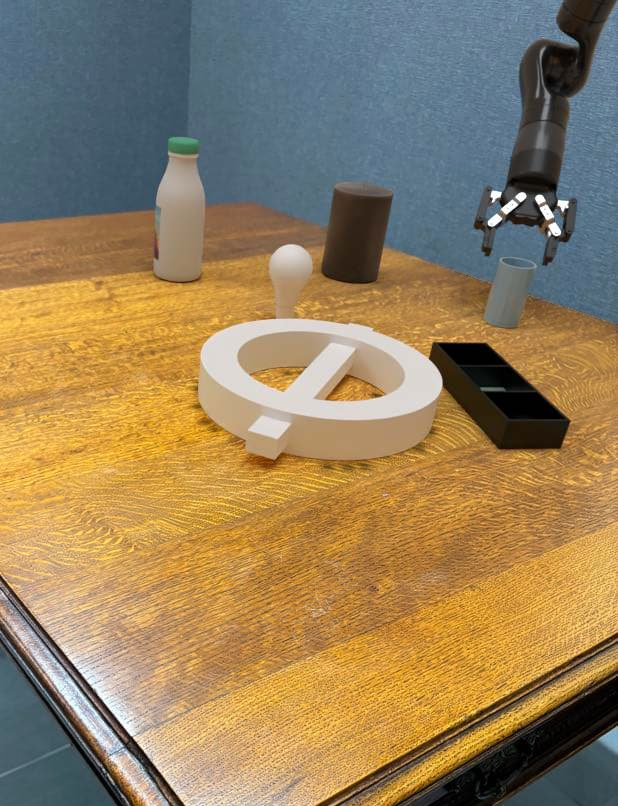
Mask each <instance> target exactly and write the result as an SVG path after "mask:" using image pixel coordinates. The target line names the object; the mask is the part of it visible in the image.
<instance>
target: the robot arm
mask: <svg viewBox="0 0 618 806" xmlns="http://www.w3.org/2000/svg"><path fill="white" fill-rule="evenodd" d="M617 3H618V0H562V2H561V3H560V6H559V8H558V10H557V14H556V17H555V22H556V26H557V28H558V29H559V30H560V31H561V32H562V33H563V34H565V35H566V36H567V37H569V38H571V39H572V40H574V41H575V42H576V43H577V45H572V44H569V43H566V42H565V43H564V42H561V41H557V40H553V39H549V38H539V39H537V40H535V41H533V42H532V43H531V44H530V45H528V47H527V48H526V49H525V51H524V53H523V54H522V57H521V59H520V62H519V67H518V86H519V94H520V103H521V117H520V121H519V127H518V131H517V136H516V139H515V142H514V144H513V148H512V152H511V155H510V157H509V166H508V171H507V177H506V182H505V186H504V188H503V190H502V191H497V190H493V189H494V188H493V187H492V186H491V185H486V186H485V187H484V189H483V192H482V195H481V198H480V201H479V205H478V208H477V211H476V216H475V219H474V223H473V229H474V230H480V231H482V232H483V233H484V234H483V239H482V243H481V247H480V248H481V249H480V250H481V252H482V253H484V256H483V257H488V258H489V257H490V255H491V254H492V250H493V245H494V240H495V236H496V231H497V230H498V229H500V228H502V227H503V226H504V227H505V225H506V224H507V223H509V222H511V225H517V226H518V225H524V226H526V227H529V228H530V227H531V228H534V226H536V227H537V229H538V231H539V233H540V234H541V235H543V236H544V238H545V239H546V243H545V245H544V247H545V248H544V252H543V256H542V262H541V266H546V267H547V266H548V265H549V263H552V262H553V261H554V259H555V258H556V255H557V251H558V245H559V243H564V244H565V243H566V244H567V243H569V242H570V239H571V237H572V236H573V234H574V232H575V226H576V220H577V219H576V218H577V211H578V210H577V209H578V199H577V198H576V197H571V198H570V199H568V200H562V199H561V200H559V199H558V198H559V197H558V195H557V194H558V193H557V192H558V186H559V182H560V177H561V172H562V167H563V162H564V157H565V151H566V137H567V131H568V126H569V121H570V117H571V104H570V101H569V100H568V99H571V98H574V97H575V96H577V95H578V94H579V93H581V92H582V91H583V89H584V88H585V87H586V85H587V83H588V80H589V78H590V74H591V71H592V66H593V63H594V62H593V61H594V57H595V53H596V49H597V47H598V43H599V41H600V37H601V35H602V32H603V30H604V27H605V25H606V23H607V21H608V19H609V17H610V15H611V13H612V11H613V10H614V8H615V7H616V4H617ZM497 202H498V204H499V206H501V208H500V209H499V210H498V212H497V213H496V214H495V215H493V216H492V217H491V218H490V219H489V218H487V217H486V215H487V210H488V208H490V207H492V206H493V205H494V204H495V203H497ZM556 210H558V212H559V215H560V217H561V218H563V220H562V227H561V229H560V227H559V226H558V224H557V222H556V218H555V215H554V214H553V213H554V212H555V211H556Z"/></svg>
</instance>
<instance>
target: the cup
mask: <svg viewBox="0 0 618 806" xmlns="http://www.w3.org/2000/svg"><path fill="white" fill-rule="evenodd" d="M537 268H538V266H537V264H536V263H535V262H533V261H531V260H528V259H525V258H522V257H515V256H504V257H500V258H499V259H498V261H497V265H496V269H495V273H494V275H493V280H492V283H491V287H490V291H489V294H488V297H487V301H486V304H485V308H484V312H483V316H482V320H483V321H484V322H485V323H487V324H488V325H491V326H493V327H498V328H503V329H515V328H517V327H519V325H520V322H521V320H522V317H523V313H524V310H525V307H526V303H527V300H528V298H529V294H530V291H531V287H532V284H533V281H534V278H535V275H536V272H537Z"/></svg>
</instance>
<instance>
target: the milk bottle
mask: <svg viewBox="0 0 618 806" xmlns="http://www.w3.org/2000/svg"><path fill="white" fill-rule="evenodd" d="M199 151H200V141H199V140H198V139H196V138H192V137H187V136H186V137H185V136H172V137H169V138H168V141H167V155H168V161H167V166H166V169H165V172H164V174H163V176H162V179H161V181H160V183H159V186H158V189H157V193H156V199H155V208H154V209H155V213H154V233H153V234H154V235H153V236H154V237H153V263H152V264H153V265H152V267H153V273H154V276H156V277H157V278H159V279H162V280H165V281H168V282H169V281H170V282H176V283H177V282H178V283H179V282H181V283H182V282H183V283H184V282H185V283H187V282H192V281H193V282H194V281H196V280H198V279H199V278H200V277H201V274H202V265H203V253H204V252H203V251H204V236H205V222H206V221H205V220H206V195H205V190H204V185H203V183H202V179H201V177H200V173H199V168H198V162H197V161H198V158H199V156H200V155H199Z"/></svg>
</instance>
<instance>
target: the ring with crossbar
mask: <svg viewBox="0 0 618 806" xmlns="http://www.w3.org/2000/svg"><path fill="white" fill-rule="evenodd" d="M199 357H200V358H199V371H198V383H197V384H198V385H197V399H198V402H199V404H200V406H201V408H202V410H203V411H204V413H205V414H206V415H207V417H209V418H210V419H211V420H212V421H213V422H214V423H215V424H216V425H218V426H219V427H221V429H224V430H225V431H226V432H228V433H230V434H232V435H233V436H235V437H238V438H239V439H241V440H243V441H245V447H244V452H248V453H250V454H254V455H257V456H259V457H263V458H268V459H271V460H274V461H275V460H276V459H277V458H278V457H279V456H280V455H281V453H282V454H286V455H291V456H296V457H301V458H309V459H315V460H328V461H362V460H363V461H364V460H372V459H379V458H385V457H389V456H393V455H397V454H400V453H402V452H404V451H407V450H411V449H412V448H414V447H415V446H417V445H418V444H420V443H421V442H423V441H424V440H425V439H426V437H428V435H429V434H430V432H431V430H432V428H433V424H434V419H435V416H436V412H437V408H438V405H439V402H440V401H439V400H440V397H441V394H442V393H441V392H442V390H443V385H442V384H443V383H442V377H441V374H440V372H439V371H438V369H437V368H436V366H435V365H434V364H433V363H432V362H431V361H430V360H429V357H427V356H426V355H424V354H423V353H421V352H420V351H419V350H417V349H416V348H414V347H412V346H410V345H408V344H406V343H405V342H403V341H401V340H398V339H396V338H394V337H391V336H388V335H387V334H386V335H385V334H382V333H380V332H377V331H375V328H374V327H370V326H365V325H362V324H357V323H353V322H349V323H348V324H346V323H341V322H334V321H328V320H319V319H309V318H293V319H276V318H269V319H261V320H252V321H247V322H242V323H238V324H234V325H231V326H229V327H226V328H224V329H222V330H220V331H218V332H216V333H214V334H212V335H211V336H210V337H209V338H208V339H207V340H206V341H205V342H204V343H203V345H202V347H201V350H200V355H199ZM285 367H286V368H287V367H290V368H294V367H298V368H300V367H301V368H305V370H303V371H302V372H301V373H300V374H299V375H298V377H296V378H295V380H294V381H293V382H292V383H291V384H290V385H289V386H288V387H287V388H286V389H285V390H284V391H282V390H279V389H276V388H273V387H271V386H270V385H266V384H264V383H263V382H260V381H258V380H257V379H256V378H254V377H252V376H251V375H252V374H255V373H258V372H261V371H266V370H271V369H275V368H277V369H278V368H285ZM346 375H347V376H351V377H354V378H356V379H359V380H361V381H364V382H366V383H368V384H370V385H372V386H374V388H375V387H376V388H377V389H378V390H380V391H381V392H383V393H384V394H385V395H382V396H379V397H374V398H369V399H361V400H345V401H344V400H343V401H341V400H326V399H327V397H328V396H329V395H330V393H332V391H333V390H334V389H335V388H336V387H337V385H338V384H339V383H340V382H341V381H342V380H343V378H344V377H345V376H346Z"/></svg>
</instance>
